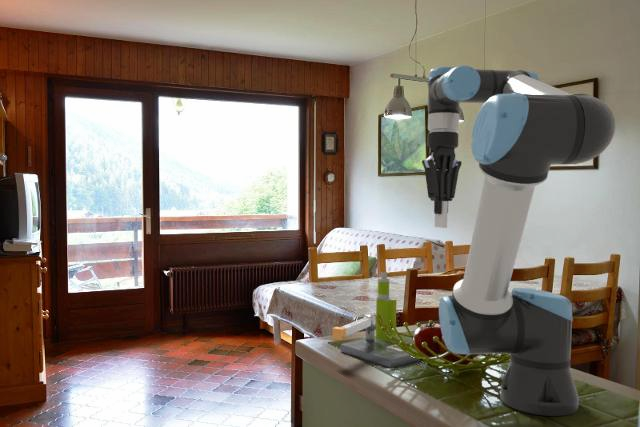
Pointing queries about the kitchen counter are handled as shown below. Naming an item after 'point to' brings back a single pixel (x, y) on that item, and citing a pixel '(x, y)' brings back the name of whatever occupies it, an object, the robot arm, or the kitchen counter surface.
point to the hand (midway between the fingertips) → (440, 227)
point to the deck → (377, 351)
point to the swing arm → (354, 327)
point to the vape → (385, 308)
